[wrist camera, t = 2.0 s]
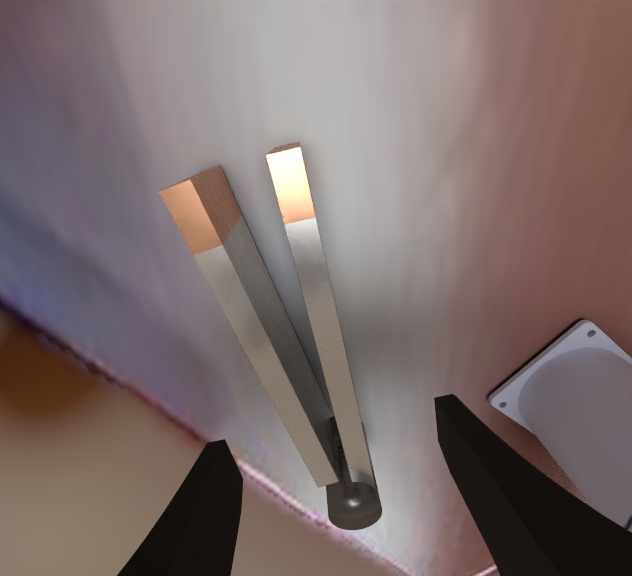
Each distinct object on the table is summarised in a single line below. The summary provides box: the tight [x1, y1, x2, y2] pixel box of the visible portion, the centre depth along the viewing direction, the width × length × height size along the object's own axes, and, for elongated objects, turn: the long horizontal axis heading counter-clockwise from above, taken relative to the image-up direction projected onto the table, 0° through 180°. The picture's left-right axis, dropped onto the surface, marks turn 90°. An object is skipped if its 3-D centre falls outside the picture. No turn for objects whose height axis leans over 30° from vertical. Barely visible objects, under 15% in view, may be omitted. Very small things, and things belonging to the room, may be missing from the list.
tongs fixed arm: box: [266, 142, 382, 530], centre depth 18 cm, size 20×3×6 cm, turn 13°
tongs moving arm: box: [159, 165, 339, 487], centre depth 18 cm, size 17×1×5 cm, turn 20°
